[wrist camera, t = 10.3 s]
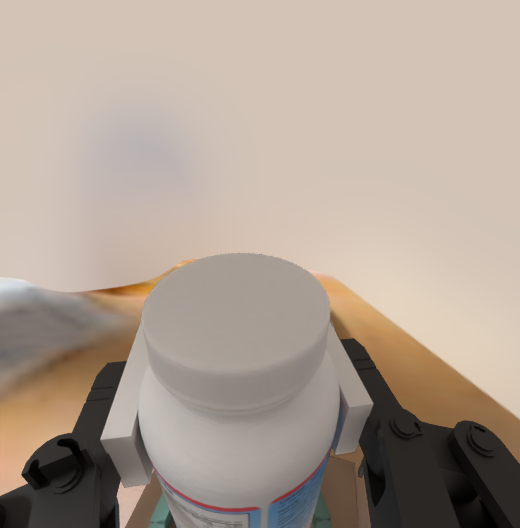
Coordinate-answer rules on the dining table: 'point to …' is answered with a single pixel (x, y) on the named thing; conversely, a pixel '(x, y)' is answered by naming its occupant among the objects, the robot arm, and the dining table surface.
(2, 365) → the dining table surface
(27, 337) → the dining table surface
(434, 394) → the dining table surface
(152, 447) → the pill bottle
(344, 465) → the holder board
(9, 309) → the dining table surface
